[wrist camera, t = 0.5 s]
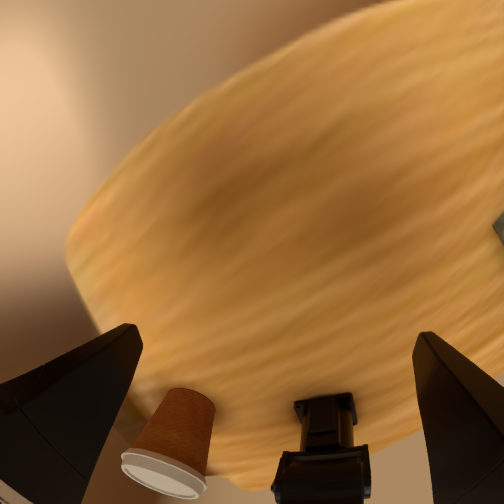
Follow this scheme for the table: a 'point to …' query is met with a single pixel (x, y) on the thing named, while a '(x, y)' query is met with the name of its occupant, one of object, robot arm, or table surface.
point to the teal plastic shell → (500, 227)
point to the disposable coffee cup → (173, 446)
